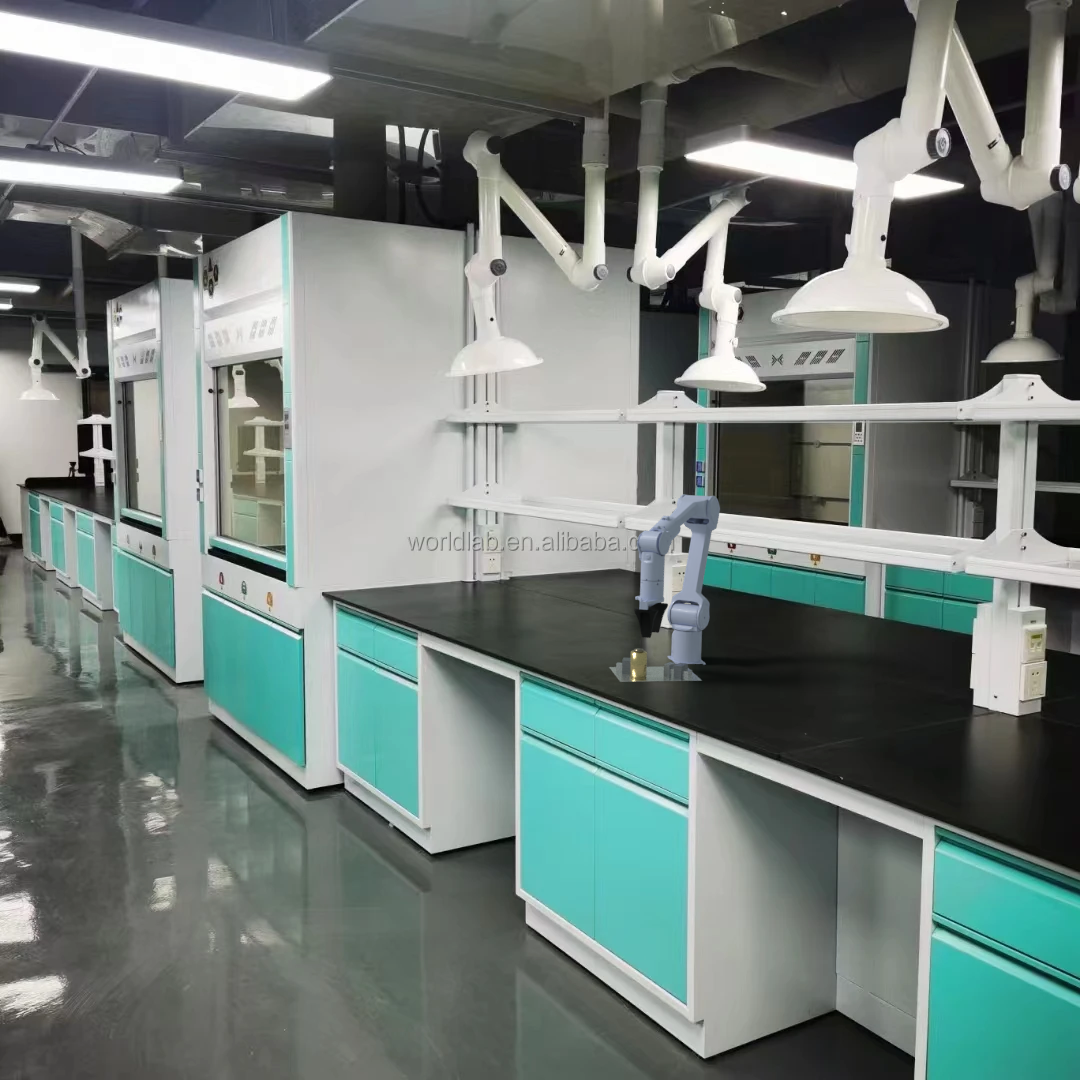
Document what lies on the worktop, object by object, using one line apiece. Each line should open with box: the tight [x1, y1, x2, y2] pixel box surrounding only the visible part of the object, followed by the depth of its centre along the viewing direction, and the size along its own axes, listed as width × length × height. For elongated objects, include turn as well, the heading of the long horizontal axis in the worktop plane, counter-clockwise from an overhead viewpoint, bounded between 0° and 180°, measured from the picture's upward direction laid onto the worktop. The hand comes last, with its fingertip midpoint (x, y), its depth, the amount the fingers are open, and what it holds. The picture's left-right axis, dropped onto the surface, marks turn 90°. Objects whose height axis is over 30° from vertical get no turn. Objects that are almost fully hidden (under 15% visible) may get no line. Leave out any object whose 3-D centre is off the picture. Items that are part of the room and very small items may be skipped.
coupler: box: [630, 647, 648, 680], centre depth 247 cm, size 4×4×7 cm
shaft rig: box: [608, 657, 703, 683], centre depth 252 cm, size 15×20×4 cm
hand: (650, 634), depth 250 cm, fingers open, 7 cm apart
